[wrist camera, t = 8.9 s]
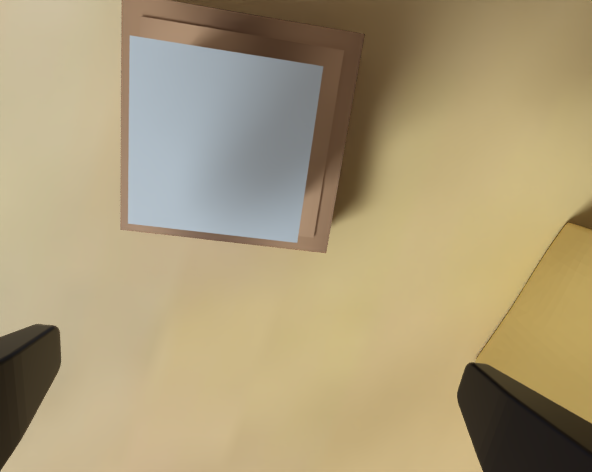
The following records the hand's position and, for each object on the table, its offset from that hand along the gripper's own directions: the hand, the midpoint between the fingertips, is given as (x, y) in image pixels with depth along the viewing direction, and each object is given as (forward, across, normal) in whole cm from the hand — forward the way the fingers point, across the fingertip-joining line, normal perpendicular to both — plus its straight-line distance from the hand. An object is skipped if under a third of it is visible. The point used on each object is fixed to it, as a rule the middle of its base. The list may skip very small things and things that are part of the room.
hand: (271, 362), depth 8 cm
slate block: (+9, +2, -4) cm, 10 cm away
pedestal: (+12, +2, -4) cm, 13 cm away
